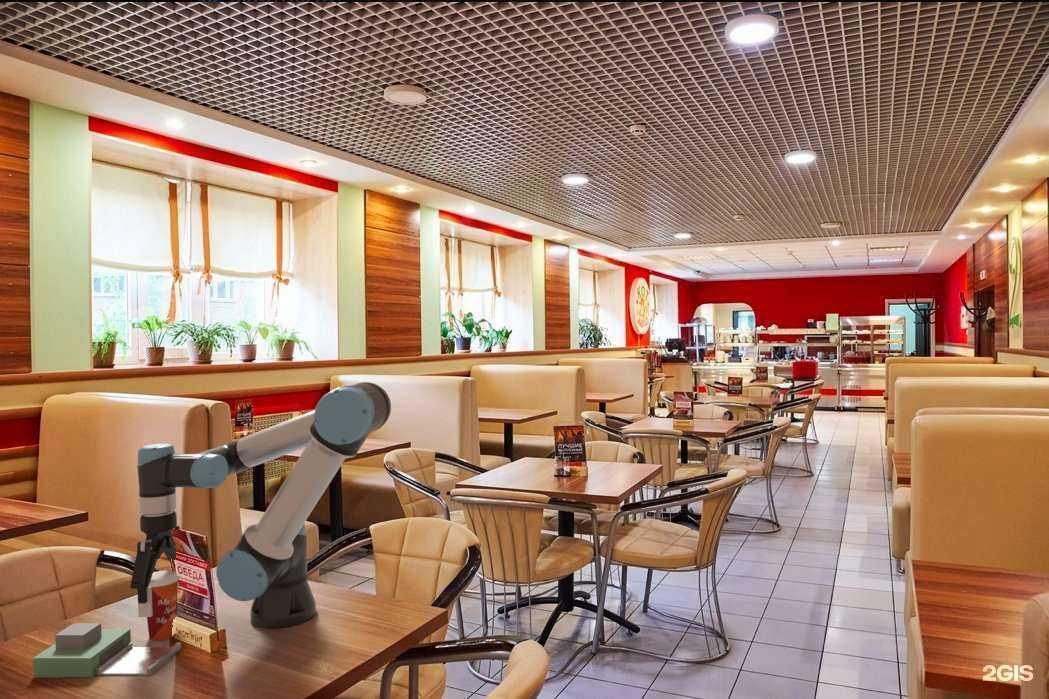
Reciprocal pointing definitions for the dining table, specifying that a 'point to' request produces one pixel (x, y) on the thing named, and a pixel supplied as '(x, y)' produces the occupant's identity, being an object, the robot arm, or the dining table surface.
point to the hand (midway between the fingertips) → (161, 604)
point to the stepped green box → (80, 650)
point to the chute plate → (136, 660)
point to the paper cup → (163, 604)
